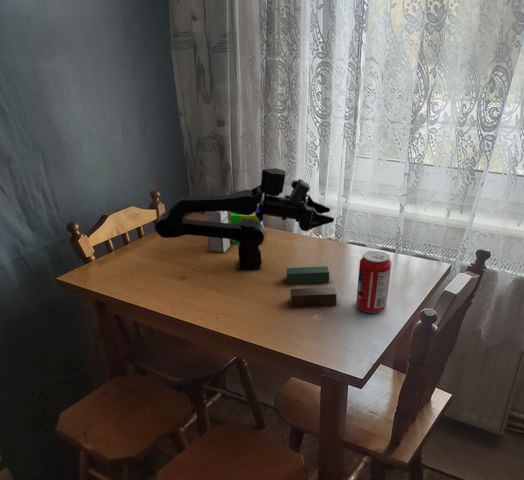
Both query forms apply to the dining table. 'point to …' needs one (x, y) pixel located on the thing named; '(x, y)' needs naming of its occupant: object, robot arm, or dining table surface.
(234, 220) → the puzzle toy
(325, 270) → the green bar
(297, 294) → the walnut bar
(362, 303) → the soda can
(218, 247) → the syrup box
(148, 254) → the dining table surface
